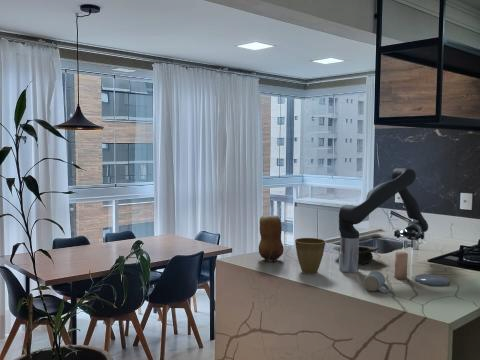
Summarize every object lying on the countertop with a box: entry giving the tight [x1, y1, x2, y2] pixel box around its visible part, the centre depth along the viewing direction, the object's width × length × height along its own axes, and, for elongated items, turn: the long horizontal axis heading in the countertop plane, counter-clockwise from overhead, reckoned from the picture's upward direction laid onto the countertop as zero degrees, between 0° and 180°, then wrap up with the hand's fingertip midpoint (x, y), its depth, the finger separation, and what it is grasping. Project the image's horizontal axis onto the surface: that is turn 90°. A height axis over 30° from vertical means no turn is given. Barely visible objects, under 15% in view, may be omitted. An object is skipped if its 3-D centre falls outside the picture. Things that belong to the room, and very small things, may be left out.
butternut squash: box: [258, 214, 284, 262], centre depth 254 cm, size 14×13×25 cm
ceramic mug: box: [363, 270, 390, 294], centre depth 207 cm, size 11×8×8 cm
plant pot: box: [294, 237, 326, 275], centre depth 233 cm, size 15×15×16 cm
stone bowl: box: [332, 245, 380, 266], centre depth 258 cm, size 25×25×9 cm
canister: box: [394, 251, 409, 281], centre depth 226 cm, size 6×6×12 cm
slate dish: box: [414, 273, 450, 287], centre depth 221 cm, size 15×15×1 cm
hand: (406, 237), depth 235 cm, fingers open, 8 cm apart
